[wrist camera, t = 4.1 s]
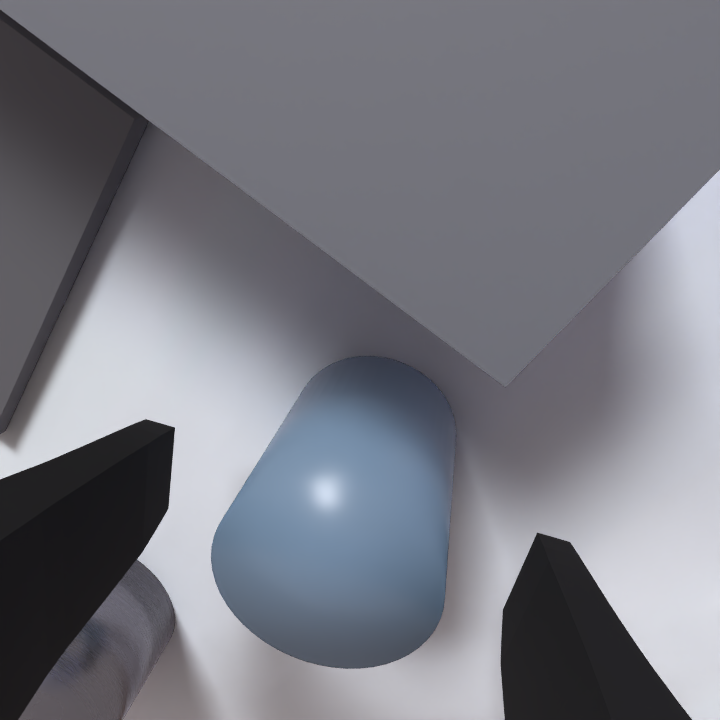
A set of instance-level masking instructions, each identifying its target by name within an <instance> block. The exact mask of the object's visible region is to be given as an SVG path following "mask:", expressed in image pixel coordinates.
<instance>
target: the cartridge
mask: <svg viewBox="0 0 720 720" xmlns="http://www.w3.org/2000/svg"><path fill="white" fill-rule="evenodd" d="M455 446H456V426H455V421H454V416H453V413H452V411H451V408H450V406H449V404H448V402H447V400H446V398H445V397H444V395H443V394H442V393H441V391H440V390H439V389H438V388H437V386H436V385H435V384H434V383H433V382H432V381H431V380H430V379H428V378H427V377H426V376H425V375H424V374H422V373H420V372H419V371H417V370H416V369H414V368H412V367H410V366H408V365H406V364H404V363H401V362H399V361H396V360H393V359H388V358H383V357H375V356H359V357H352V358H347V359H344V360H340V361H338V362H335V363H333V364H331V365H329V366H327V367H326V368H324V369H322V370H321V371H320V372H318V373H317V374H316V375H315V376H314V377H313V378H312V379H311V380H310V381H309V382H308V383H307V385H306V386H305V388H304V390H303V391H302V393H301V394H300V396H299V397H298V399H297V401H296V402H295V404H294V405H293V407H292V409H291V410H290V412H289V413H288V415H287V417H286V418H285V420H284V421H283V423H282V425H281V426H280V428H279V429H278V431H277V433H276V434H275V436H274V437H273V439H272V441H271V442H270V444H269V445H268V447H267V449H266V450H265V452H264V453H263V455H262V457H261V458H260V460H259V461H258V463H257V465H256V466H255V468H254V469H253V471H252V473H251V474H250V476H249V477H248V479H247V481H246V482H245V484H244V485H243V487H242V489H241V490H240V492H239V493H238V495H237V497H236V498H235V500H234V501H233V503H232V505H231V506H230V508H229V509H228V511H227V513H226V514H225V516H224V517H223V519H222V521H221V522H220V524H219V526H218V528H217V530H216V533H215V535H214V539H213V543H212V551H211V562H212V571H213V574H214V578H215V582H216V584H217V587H218V589H219V592H220V594H221V595H222V597H223V599H224V601H225V602H226V604H227V605H228V607H229V608H230V610H231V611H232V612H233V614H234V615H235V616H236V617H237V618H238V619H239V620H240V621H241V623H242V624H243V625H244V626H246V627H247V628H248V629H249V630H250V631H251V632H252V633H253V634H255V635H256V636H257V637H259V638H260V639H262V640H263V641H264V642H266V643H267V644H269V645H271V646H272V647H274V648H276V649H278V650H280V651H282V652H284V653H286V654H288V655H290V656H293V657H295V658H298V659H300V660H303V661H306V662H310V663H314V664H317V665H322V666H328V667H335V668H345V669H348V668H368V667H375V666H380V665H384V664H388V663H391V662H393V661H396V660H399V659H401V658H403V657H405V656H407V655H409V654H410V653H412V652H413V651H415V650H416V649H418V648H419V647H420V646H421V645H422V644H423V643H424V642H425V641H426V640H427V639H428V638H429V637H430V636H431V634H432V633H433V632H434V630H435V629H436V627H437V625H438V623H439V621H440V618H441V615H442V612H443V608H444V600H445V587H446V573H447V559H448V545H449V531H450V517H451V502H452V488H453V474H454V460H455Z"/></svg>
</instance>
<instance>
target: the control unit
mask: <svg viewBox="0 0 720 720" xmlns="http://www.w3.org/2000/svg"><path fill="white" fill-rule="evenodd" d="M0 10H2V11H3V12H4V13H6V14H7V15H8V16H10V17H11V18H12V19H14V20H15V21H16V22H18V23H19V24H20V25H22V26H23V27H24V28H26V29H27V30H28V31H30V32H31V33H32V34H34V35H35V36H36V37H38V38H39V39H40V40H42V41H43V42H44V43H46V44H47V45H48V46H50V47H51V48H52V49H54V50H55V51H56V52H58V53H59V54H60V55H62V56H63V57H64V58H66V59H67V60H68V61H70V62H71V63H72V64H74V65H75V66H76V67H78V68H79V69H80V70H82V71H83V72H84V73H86V74H87V75H88V76H90V77H91V78H92V79H94V80H95V81H96V82H98V83H99V84H100V85H102V86H103V87H104V88H106V89H107V90H108V91H110V92H111V93H112V94H114V95H115V96H116V97H118V98H119V99H120V100H122V101H123V102H124V103H126V104H127V105H128V106H130V107H131V108H133V109H134V110H135V111H137V112H138V113H139V114H141V115H142V116H143V117H145V118H146V119H147V120H149V121H150V122H151V123H153V124H154V125H155V126H157V127H158V128H159V129H161V130H162V131H163V132H165V133H166V134H167V135H169V136H170V137H171V138H173V139H174V140H175V141H177V142H178V143H179V144H181V145H182V146H183V147H185V148H186V149H187V150H189V151H190V152H191V153H193V154H194V155H195V156H197V157H198V158H199V159H201V160H202V161H203V162H205V163H206V164H207V165H209V166H210V167H211V168H213V169H214V170H215V171H217V172H218V173H219V174H221V175H222V176H223V177H225V178H226V179H227V180H229V181H230V182H231V183H233V184H234V185H235V186H237V187H238V188H239V189H241V190H242V191H243V192H245V193H246V194H247V195H249V196H250V197H251V198H253V199H254V200H255V201H257V202H258V203H259V204H261V205H262V206H263V207H265V208H266V209H267V210H269V211H270V212H271V213H273V214H274V215H275V216H277V217H278V218H279V219H281V220H282V221H283V222H285V223H286V224H287V225H289V226H290V227H291V228H293V229H294V230H295V231H297V232H298V233H299V234H301V235H302V236H303V237H305V238H306V239H307V240H309V241H310V242H312V243H313V244H314V245H316V246H317V247H318V248H320V249H321V250H322V251H324V252H325V253H326V254H328V255H329V256H330V257H332V258H333V259H334V260H336V261H337V262H338V263H340V264H341V265H342V266H344V267H345V268H346V269H348V270H349V271H350V272H352V273H353V274H354V275H356V276H357V277H358V278H360V279H361V280H362V281H364V282H365V283H366V284H368V285H369V286H370V287H372V288H373V289H374V290H376V291H377V292H378V293H380V294H381V295H382V296H384V297H385V298H386V299H388V300H389V301H390V302H392V303H393V304H394V305H396V306H397V307H398V308H400V309H401V310H402V311H404V312H405V313H406V314H408V315H409V316H410V317H412V318H413V319H414V320H416V321H417V322H418V323H420V324H421V325H422V326H424V327H425V328H426V329H428V330H429V331H430V332H432V333H433V334H434V335H436V336H437V337H438V338H440V339H441V340H442V341H444V342H445V343H446V344H448V345H449V346H450V347H452V348H453V349H454V350H456V351H457V352H458V353H460V354H461V355H462V356H464V357H465V358H466V359H468V360H469V361H470V362H472V363H473V364H474V365H476V366H477V367H478V368H480V369H481V370H482V371H484V372H485V373H487V374H488V375H489V376H491V377H492V378H493V379H495V380H496V381H497V382H499V383H500V384H501V385H503V386H504V387H505V388H506V387H507V386H508V384H509V383H510V382H511V381H512V380H513V379H514V378H515V377H516V376H517V375H518V374H519V373H520V372H521V371H522V370H523V369H524V368H525V367H526V366H527V365H528V364H529V363H530V362H531V361H532V360H533V359H534V358H535V357H536V356H537V355H538V354H539V353H540V352H541V351H542V350H543V349H544V348H545V347H546V346H547V345H548V344H549V343H550V342H551V341H552V340H553V339H554V338H555V337H556V336H557V335H558V334H559V333H560V332H561V331H562V330H563V328H564V327H565V326H566V325H567V324H568V323H569V322H570V321H571V320H572V319H573V318H574V317H575V316H576V315H577V314H578V313H579V312H580V311H581V310H582V309H583V308H584V307H585V306H586V305H587V304H588V303H589V302H590V301H591V300H592V299H593V298H594V297H595V296H596V295H597V294H598V293H599V292H600V291H601V290H602V289H603V288H604V287H605V286H606V285H607V284H608V283H609V282H610V281H611V280H612V279H613V278H614V277H615V276H616V275H617V274H618V272H619V271H620V270H621V269H622V268H623V267H624V266H625V265H626V264H627V263H628V262H629V261H630V260H631V259H632V258H633V257H634V256H635V255H636V254H637V253H638V252H639V251H640V250H641V249H642V248H643V247H644V246H645V245H646V244H647V243H648V242H649V241H650V240H651V239H652V238H653V237H654V236H655V235H656V234H657V233H658V232H659V231H660V230H661V229H662V228H663V227H664V226H665V225H666V224H667V223H668V222H669V221H670V220H671V219H672V218H673V216H674V215H675V214H676V213H677V212H678V211H679V210H680V209H681V208H682V207H683V206H684V205H685V204H686V203H687V202H688V201H689V200H690V199H691V198H692V197H693V196H694V195H695V194H696V193H697V192H698V191H699V190H700V189H701V188H702V187H703V186H704V185H705V184H706V183H707V182H708V181H709V180H710V179H711V178H712V177H713V176H714V175H715V174H716V173H717V172H718V171H719V170H720V0H0Z"/></svg>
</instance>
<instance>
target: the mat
mask: <svg viewBox="0 0 720 720" xmlns="http://www.w3.org/2000/svg"><path fill="white" fill-rule="evenodd" d="M148 122H149V120H147V119H146V118H145V117H143V116H142V115H141V114H139V113H138V112H137V111H135V110H134V109H133V108H131V107H130V106H128V105H127V104H126V103H124V102H123V101H122V100H120V99H119V98H118V97H116V96H115V95H114V94H112V93H111V92H110V91H108V90H107V89H106V88H104V87H103V86H102V85H100V84H99V83H98V82H96V81H95V80H94V79H92V78H91V77H90V76H88V75H87V74H86V73H84V72H83V71H82V70H80V69H79V68H78V67H76V66H75V65H74V64H72V63H71V62H70V61H68V60H67V59H66V58H64V57H63V56H62V55H60V54H59V53H58V52H56V51H55V50H54V49H52V48H51V47H50V46H48V45H47V44H46V43H44V42H43V41H42V40H40V39H39V38H38V37H36V36H35V35H34V34H32V33H31V32H30V31H28V30H27V29H26V28H24V27H23V26H22V25H20V24H19V23H18V22H16V21H15V20H14V19H12V18H11V17H10V16H8V15H7V14H6V13H4V12H3V11H2V10H0V434H1V433H3V432H4V431H5V430H6V428H7V426H8V424H9V422H10V419H11V417H12V415H13V413H14V411H15V409H16V407H17V404H18V402H19V400H20V398H21V396H22V394H23V391H24V389H25V387H26V385H27V383H28V381H29V378H30V376H31V374H32V372H33V370H34V368H35V366H36V363H37V361H38V359H39V357H40V355H41V353H42V350H43V348H44V346H45V344H46V342H47V340H48V337H49V335H50V333H51V331H52V329H53V327H54V324H55V322H56V320H57V318H58V316H59V314H60V312H61V309H62V307H63V305H64V303H65V301H66V299H67V296H68V294H69V292H70V290H71V288H72V286H73V283H74V281H75V279H76V277H77V275H78V273H79V271H80V268H81V266H82V264H83V262H84V260H85V258H86V255H87V253H88V251H89V249H90V247H91V245H92V242H93V240H94V238H95V236H96V234H97V232H98V229H99V227H100V225H101V223H102V221H103V219H104V217H105V214H106V212H107V210H108V208H109V206H110V204H111V201H112V199H113V197H114V195H115V193H116V191H117V188H118V186H119V184H120V182H121V180H122V178H123V176H124V173H125V171H126V169H127V167H128V165H129V163H130V160H131V158H132V156H133V154H134V152H135V150H136V147H137V145H138V143H139V141H140V139H141V137H142V134H143V132H144V130H145V128H146V126H147V124H148Z"/></svg>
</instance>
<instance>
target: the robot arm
mask: <svg viewBox="0 0 720 720" xmlns="http://www.w3.org/2000/svg"><path fill="white" fill-rule="evenodd" d="M174 432H175V428H174V427H171V426H167V425H164V424H161V423H157V422H154V421H150V420H147V419H146V420H143V421H140V422H138V423H135V424H133V425H130V426H128V427H126V428H123V429H121V430H119V431H117V432H114V433H112V434H110V435H107V436H105V437H103V438H101V439H98V440H96V441H94V442H92V443H89V444H87V445H85V446H82V447H80V448H78V449H75V450H73V451H71V452H68V453H66V454H64V455H61V456H59V457H57V458H54V459H52V460H50V461H47V462H45V463H42V464H40V465H37V466H34V467H32V468H29V469H27V470H24V471H21V472H19V473H16V474H13V475H11V476H8V477H6V478H3V479H0V720H18V719H19V718H20V716H21V715H22V713H23V712H24V710H25V709H26V707H27V706H28V704H29V703H30V701H31V700H32V698H33V696H34V695H35V693H36V692H37V690H38V689H39V687H40V686H41V684H42V683H43V681H44V680H45V678H46V676H47V675H48V673H49V672H50V671H51V669H52V668H53V667H54V665H55V664H56V663H57V661H58V660H59V658H60V657H61V656H62V654H63V653H64V652H65V650H66V649H67V648H68V646H69V645H70V644H71V643H72V641H73V640H74V639H75V638H76V636H77V635H78V634H79V632H80V631H81V630H82V629H83V627H84V626H85V625H86V624H87V622H88V621H89V620H90V619H91V617H92V616H93V615H94V613H95V612H96V611H97V610H98V608H99V607H100V606H101V605H102V603H103V602H104V601H105V600H106V598H107V597H108V596H109V594H110V593H111V592H112V591H113V589H114V588H115V587H116V586H117V584H118V583H119V582H120V580H121V579H122V578H123V577H124V575H125V574H126V573H127V571H128V570H129V569H130V568H131V566H132V565H133V564H134V562H135V561H136V560H137V558H138V557H139V556H140V555H141V553H142V552H143V550H144V549H145V547H146V545H147V544H148V542H149V540H150V539H151V537H152V536H153V534H154V532H155V531H156V529H157V527H158V525H159V524H160V522H161V520H162V519H163V517H164V515H165V513H166V512H167V510H168V506H169V493H170V481H171V469H172V457H173V445H174ZM501 675H502V688H503V701H504V714H505V720H692V719H691V718H690V717H689V715H688V714H687V713H686V711H685V710H684V709H683V708H682V706H681V705H680V704H679V702H678V701H677V700H676V698H675V697H674V696H673V694H672V693H671V692H670V690H669V689H668V688H667V686H666V685H665V684H664V682H663V681H662V680H661V678H660V677H659V676H658V674H657V673H656V671H655V670H654V669H653V667H652V666H651V665H650V663H649V662H648V660H647V659H646V658H645V656H644V655H643V653H642V652H641V650H640V649H639V648H638V646H637V645H636V643H635V642H634V640H633V639H632V637H631V636H630V634H629V633H628V631H627V630H626V628H625V627H624V625H623V624H622V622H621V621H620V619H619V618H618V616H617V615H616V613H615V612H614V610H613V609H612V607H611V606H610V604H609V603H608V601H607V599H606V598H605V596H604V595H603V593H602V592H601V590H600V588H599V587H598V585H597V584H596V582H595V580H594V579H593V577H592V576H591V574H590V572H589V571H588V569H587V568H586V566H585V565H584V563H583V561H582V560H581V558H580V557H579V555H578V554H577V552H576V550H575V549H574V547H573V546H572V544H571V543H570V542H568V541H564V540H561V539H557V538H554V537H550V536H547V535H544V534H540V533H537V535H536V537H535V539H534V541H533V544H532V546H531V548H530V550H529V553H528V555H527V557H526V559H525V562H524V564H523V566H522V568H521V571H520V573H519V575H518V577H517V580H516V582H515V584H514V586H513V589H512V591H511V593H510V595H509V597H508V600H507V602H506V604H505V606H504V609H503V619H502V638H501Z"/></svg>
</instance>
